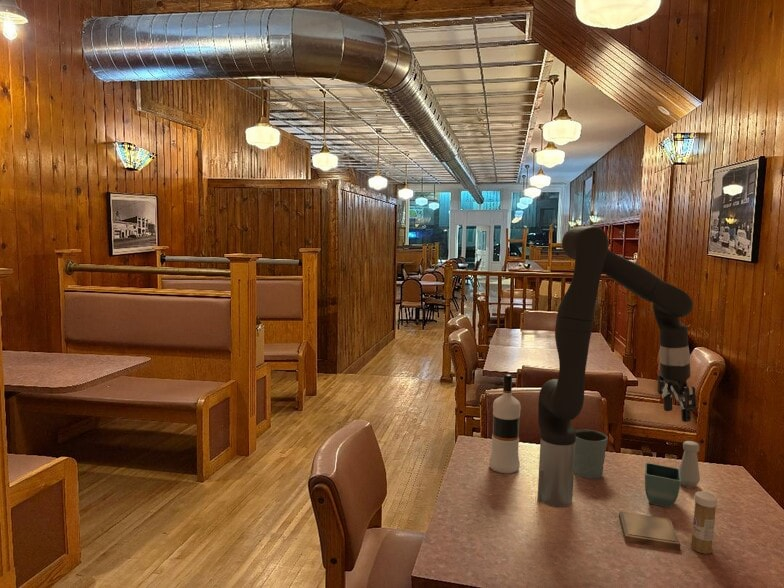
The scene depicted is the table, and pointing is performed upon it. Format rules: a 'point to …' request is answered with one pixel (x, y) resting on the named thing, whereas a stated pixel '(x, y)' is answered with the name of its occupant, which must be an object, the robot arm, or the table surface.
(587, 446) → the green round cup
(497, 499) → the table surface
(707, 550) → the sprinkles bottle
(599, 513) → the table surface
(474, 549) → the table surface
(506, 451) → the vodka
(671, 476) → the flower pot
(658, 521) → the brown rectangular tray
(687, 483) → the salt shaker
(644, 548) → the table surface
